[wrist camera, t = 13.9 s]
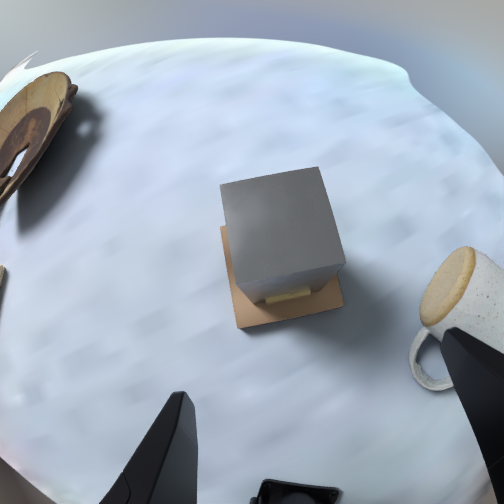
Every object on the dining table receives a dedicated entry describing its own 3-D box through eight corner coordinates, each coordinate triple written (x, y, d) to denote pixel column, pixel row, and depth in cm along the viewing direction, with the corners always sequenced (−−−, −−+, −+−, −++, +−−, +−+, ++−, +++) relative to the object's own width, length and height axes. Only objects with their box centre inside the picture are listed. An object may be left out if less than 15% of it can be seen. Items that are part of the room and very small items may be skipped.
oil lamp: (47, 237, 27) (0, 211, 19) (-45, 214, 31) (-74, 198, 24) (119, 81, 32) (96, 42, 25) (5, 106, 36) (-16, 85, 29)
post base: (341, 307, 22) (354, 301, 18) (239, 328, 23) (231, 327, 19) (317, 212, 25) (323, 189, 21) (222, 231, 25) (211, 211, 21)
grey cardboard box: (320, 294, 22) (347, 268, 13) (254, 308, 22) (236, 290, 13) (304, 224, 23) (316, 161, 14) (241, 236, 23) (218, 180, 15)
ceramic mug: (437, 252, 23) (484, 223, 15) (494, 299, 21) (548, 285, 13) (380, 361, 21) (421, 372, 14) (446, 402, 19) (496, 420, 12)
